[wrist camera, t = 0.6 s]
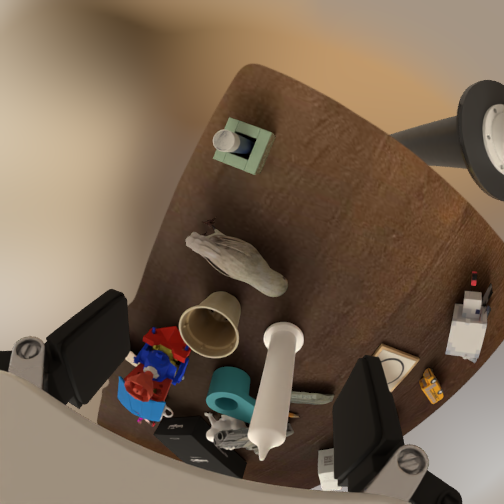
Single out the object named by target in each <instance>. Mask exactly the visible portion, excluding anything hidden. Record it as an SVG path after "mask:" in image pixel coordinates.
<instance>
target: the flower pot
mask: <svg viewBox="0 0 504 504" xmlns="http://www.w3.org/2000/svg"><path fill="white" fill-rule="evenodd" d="M210 309H211V310H213V311H214V312H211V310H210ZM240 313H241V306H240V303H239V302H238V300H237V299H236V298H235V297H234V296H232V295H230V294H229V293H227V292H223V291H219V292H215V293H212V294H211V295H210V296H209V297H208V298H206V299H205V300H204V301H203V302H202V303H200V304H199V305H197V306H194V307H191V308H189V309H187V310H186V311H185V312H184V313H183V314H182V316H181V318H180V321H179V331H180V335H181V337H182V339H183V340H184V342H185V343H186V344H187V345H188V346H189V347H190V348H191V349H192V350H193V351H194V352H196V353H198V354H200V355H202V356H205V357H209V358H222V357H226V356H228V355H230V354H231V353H233V352H234V351H235V349H236V348H237V346H238V343H239V333H238V329H237V328H238V323H239V318H240ZM225 318H227V319H228V320H225Z"/></svg>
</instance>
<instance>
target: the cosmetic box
mask: <svg viewBox="0 0 504 504" xmlns="http://www.w3.org/2000/svg"><path fill="white" fill-rule="evenodd" d="M318 453H319V456H318V474H319V478H320V482H321V486H322V491H330V490H338V489H342V486H338V479H334V448H332V449H327V450H320V451H318Z"/></svg>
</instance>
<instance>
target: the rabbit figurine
mask: <svg viewBox="0 0 504 504" xmlns="http://www.w3.org/2000/svg"><path fill="white" fill-rule="evenodd" d="M204 414H205V416H208V417H209V420H210V422H211V425H212V426H211V429H209V430H208V431H207V432H206V438H207V439H208V440H209V441H211V442H214V441H213V438H214V435H215V434H216V433H218V432H219V431H222V430H231V429H233V430H238V429H240V428H246V429H248V428H247V427H246V425H245V423H244V422H243V421H241V420H238V419H235V418H232V417H229V416H227V415H221V417H222V418H220V419H219V421H216V420H215V418H213V416H212V414H213V413H212V414H210V413H209V414H208V413H204ZM225 449H227V450H228V449H229V450H233V449H235V447H232V448H231V446H230V447H227V448H225Z"/></svg>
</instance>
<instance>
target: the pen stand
mask: <svg viewBox="0 0 504 504" xmlns="http://www.w3.org/2000/svg"><path fill="white" fill-rule="evenodd" d="M224 130H229V131H231V132H234V133H236V134H237V135H240V136H242V137H243V135H246V136H249V137H251V138H254V139H257V140H256V142H255V144H254V147H253V149H252V152H251V154H250V157H249V158H247V157H245V156H242V155H240V154H237V153H233V152H222V151H219V150H217V149H216V152H215V155H214V157H213V159H215V160H218V161H221V162H223V163H226V164H228V165H231V166H234V167H236V168H239V169H241V170H244V171H246V172H249V173H251V174H253V175H255V174H260V173H261V171H262V168H263V166H264V164H265V161H266V159H267V156H268V154H269V151H270V149H271V147H272V144H273V142H274V140H275V137H276V136H275V135H274V134H273V133H272V132H269V131H267V130H264V129H261V128H259V127H256V126H253V125H251V124H248V123H245V122H242V121H239V120H236V119H233V118H230V117H229V119H228V122H227V124H226V126H225V129H224Z"/></svg>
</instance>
